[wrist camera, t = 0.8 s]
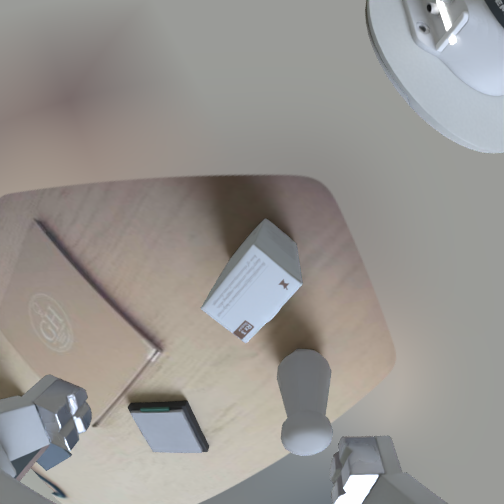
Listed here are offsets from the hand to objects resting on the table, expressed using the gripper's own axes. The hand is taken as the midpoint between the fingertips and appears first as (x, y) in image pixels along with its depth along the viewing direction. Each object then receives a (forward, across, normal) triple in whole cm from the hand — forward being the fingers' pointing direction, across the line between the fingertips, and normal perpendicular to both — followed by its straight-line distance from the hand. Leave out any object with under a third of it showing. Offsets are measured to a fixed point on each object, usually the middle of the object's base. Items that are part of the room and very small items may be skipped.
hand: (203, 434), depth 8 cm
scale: (+24, +10, +26) cm, 37 cm away
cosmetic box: (+25, 0, 0) cm, 25 cm away
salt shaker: (+25, -6, +12) cm, 28 cm away
